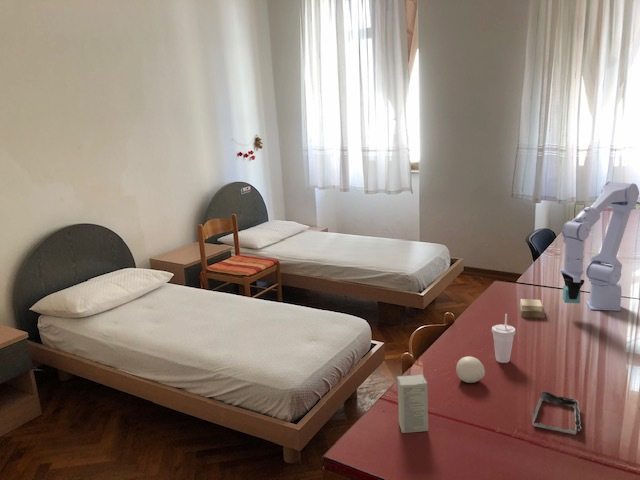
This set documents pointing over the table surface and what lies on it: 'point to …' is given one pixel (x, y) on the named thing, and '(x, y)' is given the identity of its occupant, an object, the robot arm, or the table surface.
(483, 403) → the table surface
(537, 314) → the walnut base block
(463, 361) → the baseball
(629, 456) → the table surface
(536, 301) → the maple top block
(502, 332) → the smoothie
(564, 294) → the teal block
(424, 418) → the skincare box
